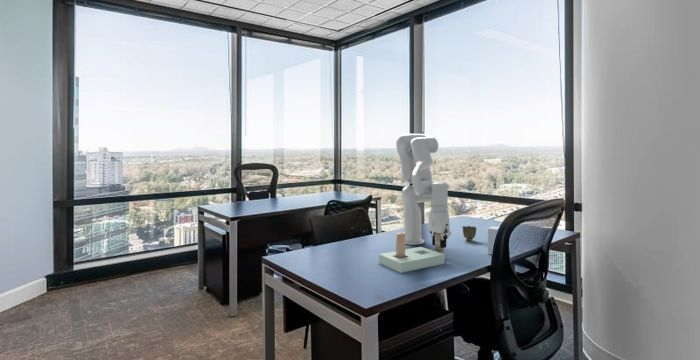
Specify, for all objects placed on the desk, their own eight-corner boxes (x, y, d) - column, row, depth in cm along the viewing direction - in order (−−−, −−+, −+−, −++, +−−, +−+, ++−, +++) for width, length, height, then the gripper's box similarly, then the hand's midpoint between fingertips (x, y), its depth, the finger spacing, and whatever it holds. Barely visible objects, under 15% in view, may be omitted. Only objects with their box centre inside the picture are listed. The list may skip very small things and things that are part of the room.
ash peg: (432, 256, 179) (433, 227, 178) (439, 255, 181) (439, 226, 180) (438, 258, 176) (439, 229, 175) (445, 257, 178) (445, 228, 177)
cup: (477, 242, 205) (477, 228, 204) (463, 242, 206) (463, 228, 205) (475, 239, 212) (475, 225, 211) (461, 239, 213) (461, 225, 213)
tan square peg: (394, 264, 164) (393, 233, 163) (401, 263, 166) (401, 232, 165) (399, 267, 161) (399, 235, 160) (407, 265, 163) (406, 233, 162)
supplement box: (503, 256, 178) (503, 230, 177) (487, 254, 182) (487, 228, 181) (506, 252, 185) (506, 227, 184) (490, 250, 188) (490, 225, 187)
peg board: (378, 265, 168) (378, 254, 167) (420, 257, 179) (420, 246, 179) (400, 275, 154) (400, 263, 153) (444, 265, 165) (444, 254, 165)
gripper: (421, 206, 182) (421, 243, 184) (446, 211, 167) (446, 251, 169) (433, 205, 186) (433, 241, 187) (458, 209, 171) (458, 249, 172)
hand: (439, 246), depth 178 cm, fingers open, 4 cm apart
